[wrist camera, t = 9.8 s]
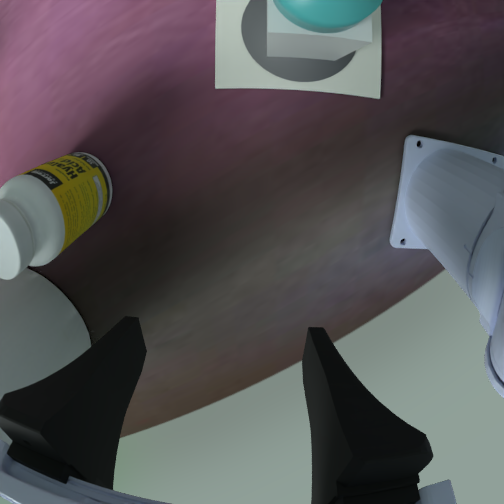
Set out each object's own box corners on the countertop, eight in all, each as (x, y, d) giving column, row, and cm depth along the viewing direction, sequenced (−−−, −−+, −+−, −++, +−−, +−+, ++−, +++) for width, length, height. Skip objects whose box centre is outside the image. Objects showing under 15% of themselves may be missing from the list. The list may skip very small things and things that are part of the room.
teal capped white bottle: (334, 2, 14) (383, -57, 6) (334, 60, 16) (390, 34, 8) (266, -3, 14) (267, -73, 6) (267, 56, 16) (268, 19, 8)
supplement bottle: (114, 150, 19) (19, 196, 10) (116, 223, 21) (43, 302, 13) (53, 150, 19) (-44, 194, 10) (59, 217, 21) (-21, 284, 13)
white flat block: (378, -12, 13) (379, -14, 13) (378, 98, 17) (380, 98, 16) (218, -25, 13) (217, -27, 13) (215, 88, 17) (215, 88, 17)
